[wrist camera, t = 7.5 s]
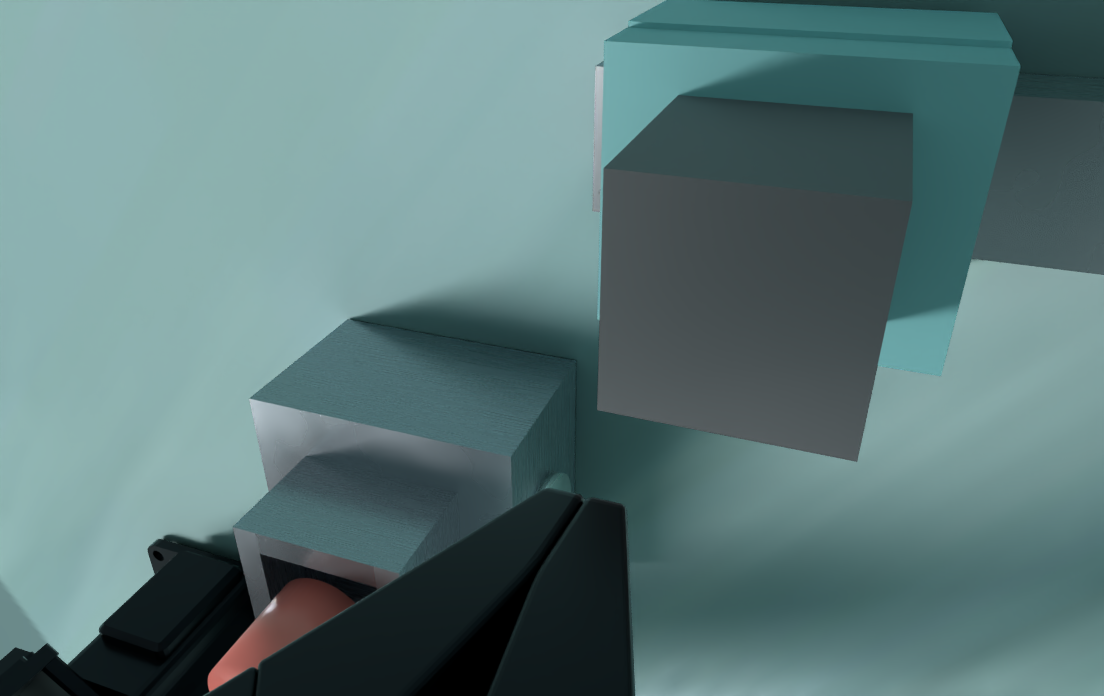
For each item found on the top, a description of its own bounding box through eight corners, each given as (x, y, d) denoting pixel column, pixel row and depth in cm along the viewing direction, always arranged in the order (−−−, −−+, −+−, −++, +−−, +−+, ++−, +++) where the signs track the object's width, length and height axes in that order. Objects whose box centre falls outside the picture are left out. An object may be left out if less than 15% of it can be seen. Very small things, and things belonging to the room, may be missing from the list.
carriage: (997, 12, 15) (1064, 133, 8) (934, 277, 18) (946, 534, 11) (669, -2, 17) (506, 88, 10) (654, 240, 20) (516, 441, 13)
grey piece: (583, 560, 26) (484, 768, 20) (373, 507, 28) (228, 679, 22) (587, 362, 23) (469, 542, 17) (347, 319, 25) (168, 463, 19)
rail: (1514, 103, 14) (1595, 136, 12) (1422, 273, 15) (1482, 322, 14) (623, 48, 18) (595, 65, 17) (618, 182, 20) (592, 211, 18)
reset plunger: (377, 669, 20) (315, 762, 18) (289, 641, 20) (220, 728, 18) (365, 594, 18) (298, 684, 16) (273, 566, 19) (197, 650, 17)
